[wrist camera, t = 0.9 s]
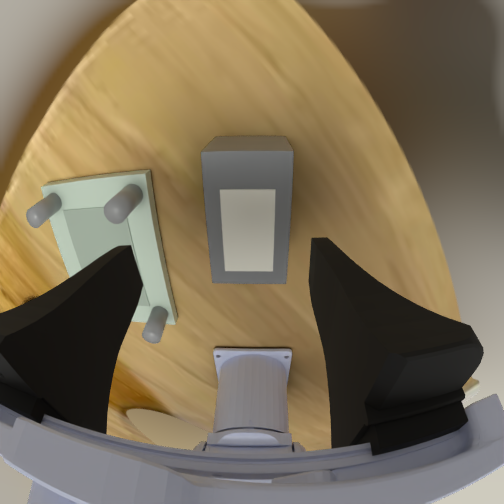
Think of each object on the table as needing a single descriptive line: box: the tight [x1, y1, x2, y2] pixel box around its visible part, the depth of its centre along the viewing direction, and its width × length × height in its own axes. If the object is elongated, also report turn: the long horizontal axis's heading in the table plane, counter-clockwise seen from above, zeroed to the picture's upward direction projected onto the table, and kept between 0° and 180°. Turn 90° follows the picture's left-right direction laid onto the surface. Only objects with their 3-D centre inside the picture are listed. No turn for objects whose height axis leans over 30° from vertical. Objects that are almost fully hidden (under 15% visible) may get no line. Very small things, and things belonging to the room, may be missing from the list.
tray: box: [26, 170, 178, 343], centre depth 21 cm, size 14×10×4 cm
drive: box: [201, 136, 294, 284], centre depth 17 cm, size 8×4×5 cm, turn 1°
